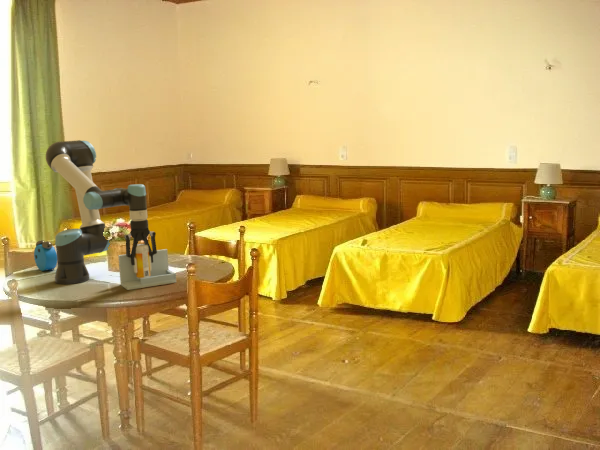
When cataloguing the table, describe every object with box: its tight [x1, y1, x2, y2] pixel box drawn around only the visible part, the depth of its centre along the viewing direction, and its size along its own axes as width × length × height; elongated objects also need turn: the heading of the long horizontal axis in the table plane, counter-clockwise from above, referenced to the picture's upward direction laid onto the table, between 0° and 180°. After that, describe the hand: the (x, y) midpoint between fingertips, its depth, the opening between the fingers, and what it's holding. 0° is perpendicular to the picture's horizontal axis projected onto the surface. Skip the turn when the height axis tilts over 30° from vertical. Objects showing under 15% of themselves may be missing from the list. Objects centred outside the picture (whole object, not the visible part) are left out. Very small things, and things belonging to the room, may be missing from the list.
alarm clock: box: [33, 239, 58, 272], centre depth 331 cm, size 13×6×15 cm, turn 47°
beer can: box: [135, 243, 151, 279], centre depth 294 cm, size 6×6×15 cm
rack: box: [118, 248, 177, 291], centre depth 295 cm, size 22×11×14 cm, turn 120°
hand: (142, 271), depth 295 cm, fingers closed on beer can, 6 cm apart
